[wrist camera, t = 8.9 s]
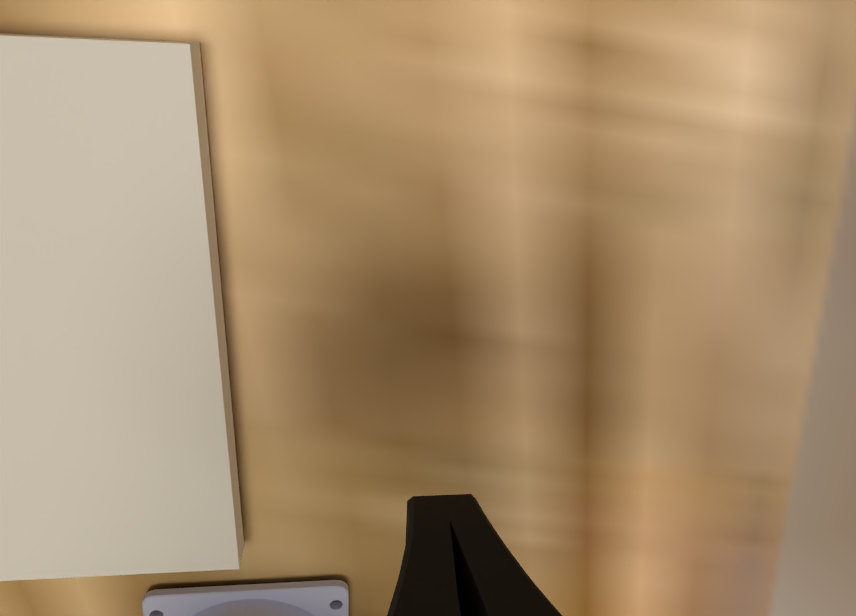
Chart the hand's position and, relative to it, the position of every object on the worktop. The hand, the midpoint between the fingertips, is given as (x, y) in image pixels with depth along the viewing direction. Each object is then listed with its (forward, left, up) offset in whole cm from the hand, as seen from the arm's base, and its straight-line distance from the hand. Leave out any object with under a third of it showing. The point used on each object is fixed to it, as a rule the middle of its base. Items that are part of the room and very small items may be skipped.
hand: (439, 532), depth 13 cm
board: (0, +12, -9) cm, 16 cm away
